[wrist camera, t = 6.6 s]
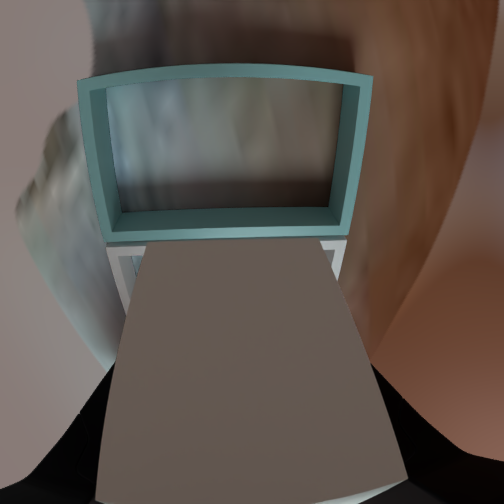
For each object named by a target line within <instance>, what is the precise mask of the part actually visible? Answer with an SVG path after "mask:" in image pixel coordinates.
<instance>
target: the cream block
mask: <svg viewBox="0 0 504 504" xmlns="http://www.w3.org/2000/svg"><path fill="white" fill-rule="evenodd" d="M406 479H408V476H407V473H406V469H405V466H404V462H403V459H402V456H401V453H400V449H399V446H398V443H397V440H396V437H395V433H394V430H393V427H392V424H391V421H390V418H389V415H388V412H387V409H386V406H385V403H384V401H383V398H382V395H381V392H380V389H379V386H378V383H377V381H376V378H375V375H374V372H373V370H372V367H371V364H370V362H369V359H368V356H367V354H366V351H365V348H364V346H363V343H362V340H361V338H360V335H359V333H358V330H357V328H356V325H355V323H354V320H353V318H352V315H351V313H350V310H349V308H348V305H347V303H346V300H345V298H344V296H343V293H342V291H341V288H340V286H339V284H338V281H337V279H336V277H335V274H334V272H333V270H332V267H331V265H330V263H329V261H328V258H327V256H326V254H325V251H324V249H323V247H322V245H321V243H320V240H319V238H284V239H235V240H195V241H159V242H147V245H146V248H145V251H144V255H143V258H142V261H141V265H140V268H139V271H138V275H137V278H136V282H135V285H134V289H133V293H132V296H131V300H130V304H129V308H128V311H127V315H126V319H125V323H124V327H123V331H122V336H121V340H120V344H119V349H118V353H117V358H116V362H115V367H114V372H113V377H112V382H111V387H110V392H109V398H108V403H107V409H106V415H105V421H104V428H103V434H102V441H101V449H100V457H99V465H98V475H97V485H96V497H95V500H96V501H99V502H101V503H103V504H358V503H361V502H363V501H365V500H367V499H369V498H371V497H373V496H376V495H378V494H380V493H382V492H384V491H386V490H388V489H389V488H391V487H393V486H395V485H397V484H399V483H401V482H403V481H404V480H406Z"/></svg>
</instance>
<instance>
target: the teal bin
mask: <svg viewBox="0 0 504 504" xmlns="http://www.w3.org/2000/svg"><path fill="white" fill-rule="evenodd" d="M208 77H266V78H286V79H301V80H312V81H322V82H331V83H339V84H344V85H343V96H342V106H341V115H340V124H339V133H338V142H337V150H336V157H335V165H334V172H333V179H332V186H331V193H330V200H329V206H328V207H250V208H211V209H183V210H161V211H141V212H124V213H122V210H121V205H120V199H119V194H118V188H117V182H116V175H115V169H114V162H113V155H112V147H111V140H110V131H109V122H108V112H107V101H106V88H107V87H114V86H120V85H127V84H135V83H143V82H151V81H161V80H173V79H187V78H208ZM372 84H373V76H370V75H365V74H360V73H355V72H349V71H342V70H335V69H327V68H318V67H309V66H298V65H284V64H264V63H206V64H186V65H173V66H162V67H152V68H144V69H136V70H129V71H122V72H116V73H110V74H104V75H99V76H94V77H89V78H85V79H81V80H78V81H77V87H78V88H77V89H78V100H79V110H80V118H81V126H82V134H83V141H84V148H85V154H86V160H87V166H88V172H89V177H90V182H91V187H92V192H93V197H94V202H95V206H96V211H97V215H98V220H99V224H100V228H101V232H102V236H103V240H104V242H123V241H148V240H175V239H205V238H238V237H277V236H324V235H348V233H349V228H350V224H351V219H352V214H353V209H354V204H355V199H356V193H357V188H358V182H359V177H360V171H361V165H362V159H363V153H364V146H365V139H366V133H367V125H368V118H369V110H370V102H371V93H372Z"/></svg>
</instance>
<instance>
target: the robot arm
mask: <svg viewBox="0 0 504 504" xmlns="http://www.w3.org/2000/svg"><path fill="white" fill-rule="evenodd" d="M115 362H116V361H115ZM370 364H371V363H370ZM114 367H115V363H114V364H113V365H112V367H111V368H110V369H109V371H108V372H107V374H106V375H105V376H104V378H103V379H102V381H101V382H100V383H99V385H98V386H97V388H96V389H95V391H94V392H93V394H92V395H91V396H90V398H89V399H88V401H87V402H86V403H85V405H84V406H83V408H82V409H81V411H80V414H78V415H77V416H76V418H75V419H74V421H73V422H72V424H71V425H70V427H69V428H68V429H67V431H66V432H65V433H64V435H63V436H62V437H61V438H60V440H59V441H58V442H57V443H56V444H55V446H54V447H53V448H52V449H51V450H50V452H49V453H48V454H47V455H46V456H45V457H44V459H43V460H42V461H41V462H40V463H39V464H38V466H37V467H36V468H35V469H34V470H33V471H32V472H31V473H30V474H29V475H28V476H27V477H25V478H24V479H23V480H21V481H19V482H17V483H14V484H12V485H9V486H7V487H5V488H2V489H0V504H103V503H101V502H99V501H96V500H95V497H96V485H97V475H98V465H99V457H100V449H101V441H102V434H103V428H104V421H105V415H106V409H107V403H108V398H109V392H110V387H111V382H112V377H113V372H114ZM371 367H372V370H373V372H374V375H375V378H376V381H377V383H378V386H379V389H380V392H381V395H382V398H383V401H384V403H385V406H386V409H387V412H388V415H389V418H390V421H391V424H392V427H393V430H394V433H395V437H396V440H397V443H398V446H399V449H400V453H401V456H402V459H403V462H404V466H405V469H406V473H407V476H408V479H406V480H404V481H403V482H401V483H399V484H397V485H395V486H393V487H391V488H389V489H388V490H386V491H384V492H382V493H380V494H378V495H376V496H373V497H371V498H369V499H367V500H365V501H363V502H361V503H358V504H504V461H499V460H494V459H489V458H484V457H480V456H476V455H472V454H469V453H467V452H465V451H463V450H461V449H460V448H458V447H457V446H456V445H454V444H453V443H452V442H450V440H448V439H447V438H446V437H445V436H444V435H442V434H441V433H440V432H439V431H438V430H436V429H435V428H434V427H433V426H432V425H431V424H429V423H428V422H427V421H426V420H425V419H424V418H423V417H421V415H420V414H419V413H418V412H416V410H415V409H414V408H412V406H411V405H410V404H409V403H408V402H407V401H406V400H405V399H402V396H401V395H400V394H399V393H398V392H397V391H396V390H395V389H394V387H393V386H392V385H391V384H390V383H389V382H388V381H387V380H386V379H385V378H384V377H383V376H382V375H381V374H380V373H379V372H378V370H376V369H375V367H374V366H373V365H372V364H371Z"/></svg>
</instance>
